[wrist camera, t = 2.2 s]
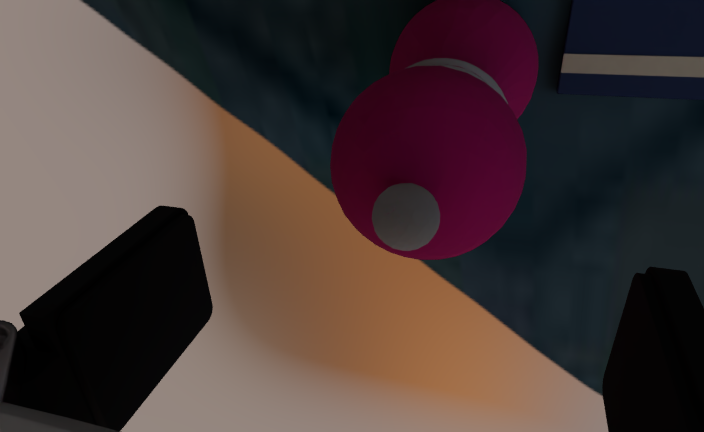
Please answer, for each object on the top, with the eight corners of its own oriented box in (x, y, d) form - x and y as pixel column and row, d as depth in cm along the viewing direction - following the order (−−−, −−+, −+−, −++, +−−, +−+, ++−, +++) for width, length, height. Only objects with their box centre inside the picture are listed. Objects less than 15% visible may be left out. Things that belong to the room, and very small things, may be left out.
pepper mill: (505, 129, 30) (485, 381, 14) (392, 92, 31) (248, 288, 15) (559, 5, 26) (621, 154, 10) (428, -34, 27) (286, 44, 11)
